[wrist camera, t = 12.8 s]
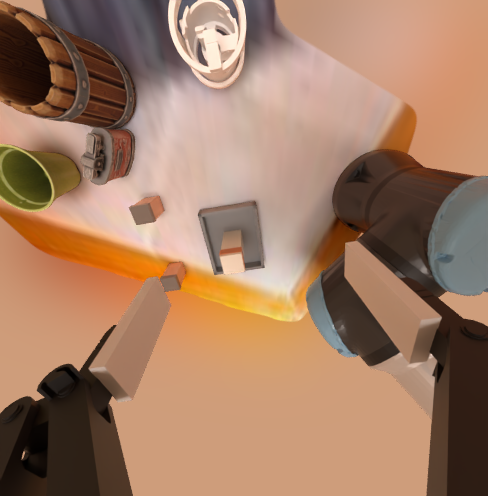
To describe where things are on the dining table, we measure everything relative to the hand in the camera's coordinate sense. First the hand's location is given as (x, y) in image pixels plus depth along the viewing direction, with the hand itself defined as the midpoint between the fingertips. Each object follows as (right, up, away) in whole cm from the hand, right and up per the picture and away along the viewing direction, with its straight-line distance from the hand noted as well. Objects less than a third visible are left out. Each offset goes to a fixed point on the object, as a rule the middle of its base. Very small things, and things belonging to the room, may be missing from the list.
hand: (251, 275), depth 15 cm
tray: (-3, +4, +30) cm, 30 cm away
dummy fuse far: (-16, -3, +33) cm, 37 cm away
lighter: (-21, +18, +22) cm, 36 cm away
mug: (-24, +28, +17) cm, 41 cm away
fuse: (-3, +4, +29) cm, 30 cm away
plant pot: (-33, +16, +23) cm, 44 cm away
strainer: (-4, +29, +17) cm, 34 cm away
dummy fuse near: (-18, +10, +26) cm, 34 cm away
